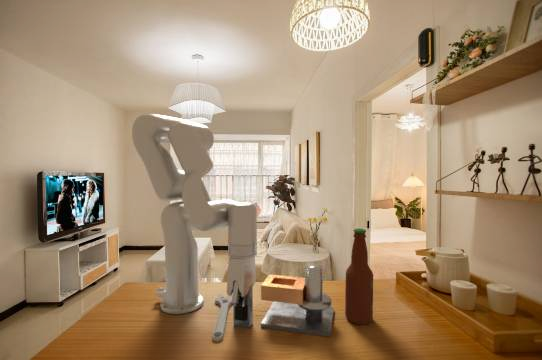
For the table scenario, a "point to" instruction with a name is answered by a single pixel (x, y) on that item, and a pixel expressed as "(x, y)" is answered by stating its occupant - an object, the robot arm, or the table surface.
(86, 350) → the table surface
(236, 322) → the grey rectangular block
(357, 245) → the bottle
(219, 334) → the adjustable wrench
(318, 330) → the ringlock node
